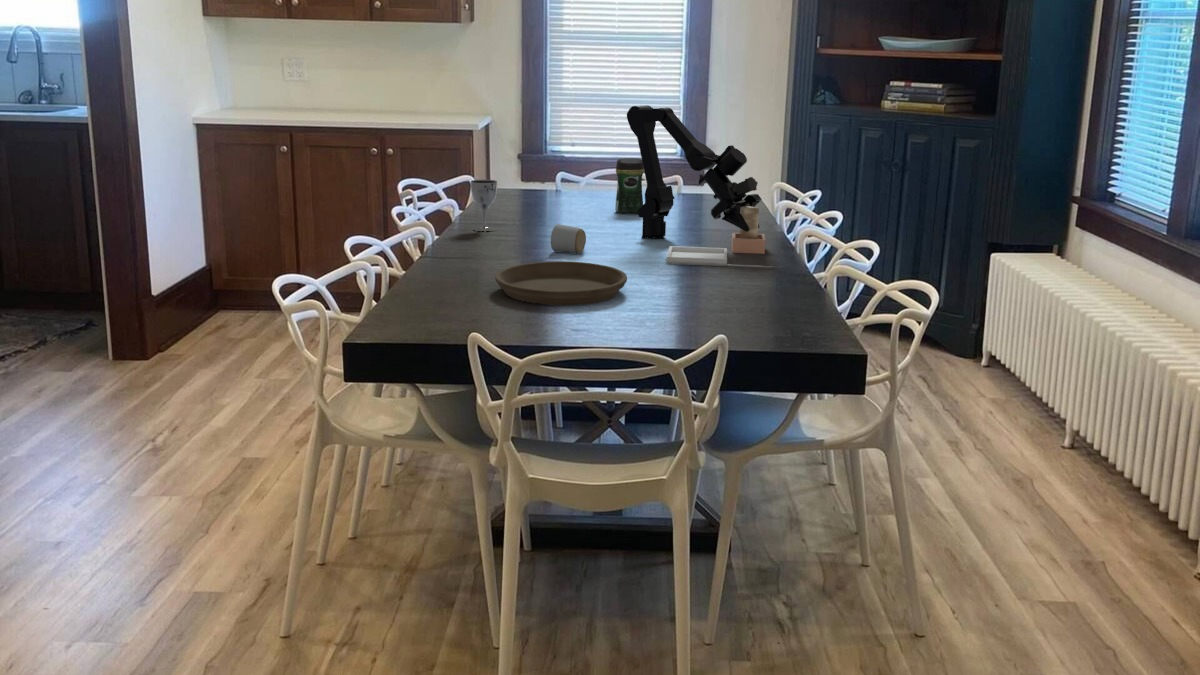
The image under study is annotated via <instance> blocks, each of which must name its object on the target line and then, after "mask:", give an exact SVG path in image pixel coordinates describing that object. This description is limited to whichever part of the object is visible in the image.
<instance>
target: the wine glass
mask: <svg viewBox="0 0 1200 675" xmlns="http://www.w3.org/2000/svg"><path fill="white" fill-rule="evenodd" d="M470 189H471V190H470V191H471V196H472V198H473V199H472V200H473V201H474V203H475V204H477V206H478V207H479V209H480V210H481V213H482V226H481V227H479V228H482V229H486V228H490V227H489V226H487V224H486V219H487V212H488V210H489V207H490V206H491V205H492V204H493V203H494V202H495V201H496V196H497V192H498V181H497V180H495V179H474V180H471V181H470Z"/></svg>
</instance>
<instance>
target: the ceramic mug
mask: <svg viewBox="0 0 1200 675" xmlns="http://www.w3.org/2000/svg"><path fill="white" fill-rule="evenodd" d="M586 242H587V235H586V232H585V230H584V229H583V228H580V227H579V226H578V227H575V226H571V225H565V224H560V223H557V224H555V226H554V227H553V228H552V231H551V234H550V247H551V249H552V251H553V252H555V251H558V252H557V253H564V252H567V253H566V254H573V253H576V254H581V253H582V252H584V249H585V246H586Z"/></svg>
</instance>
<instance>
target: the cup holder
mask: <svg viewBox="0 0 1200 675" xmlns="http://www.w3.org/2000/svg"><path fill="white" fill-rule="evenodd" d="M731 253H733V254H735V253H736V254H737V253H738V254H758V255H759V254H760V255H761V254H762V255H765V253H766V236H765V233H758V239H744V238H740V232H732V233H731Z"/></svg>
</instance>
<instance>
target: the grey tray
mask: <svg viewBox="0 0 1200 675" xmlns="http://www.w3.org/2000/svg"><path fill="white" fill-rule="evenodd" d="M727 264H728V248H727V247H704V246H703V247H702V246H701V247H700V246H679V245H678V246H677V245H675V246H672V245H669V247H668V250H667V254H666V265H689V266H690V265H691V266H711V267H712V266H713V267H714V266H715V267H720V266H721V267H727V266H728V265H727Z"/></svg>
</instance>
